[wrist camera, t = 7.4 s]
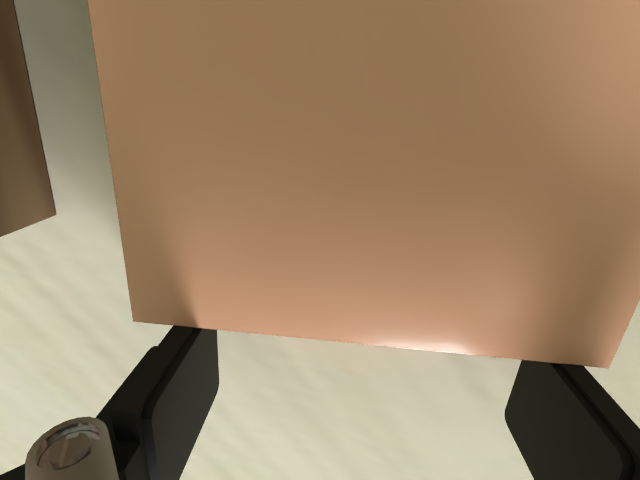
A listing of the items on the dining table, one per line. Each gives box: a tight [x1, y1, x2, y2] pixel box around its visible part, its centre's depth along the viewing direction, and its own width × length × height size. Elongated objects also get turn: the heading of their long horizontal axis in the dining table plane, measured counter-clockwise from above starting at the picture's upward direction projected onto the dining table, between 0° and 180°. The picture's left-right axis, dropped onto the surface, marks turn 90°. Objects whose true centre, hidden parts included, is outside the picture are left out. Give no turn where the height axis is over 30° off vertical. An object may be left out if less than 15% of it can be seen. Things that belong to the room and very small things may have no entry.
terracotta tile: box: [87, 0, 640, 368], centre depth 9 cm, size 12×8×3 cm, turn 86°
